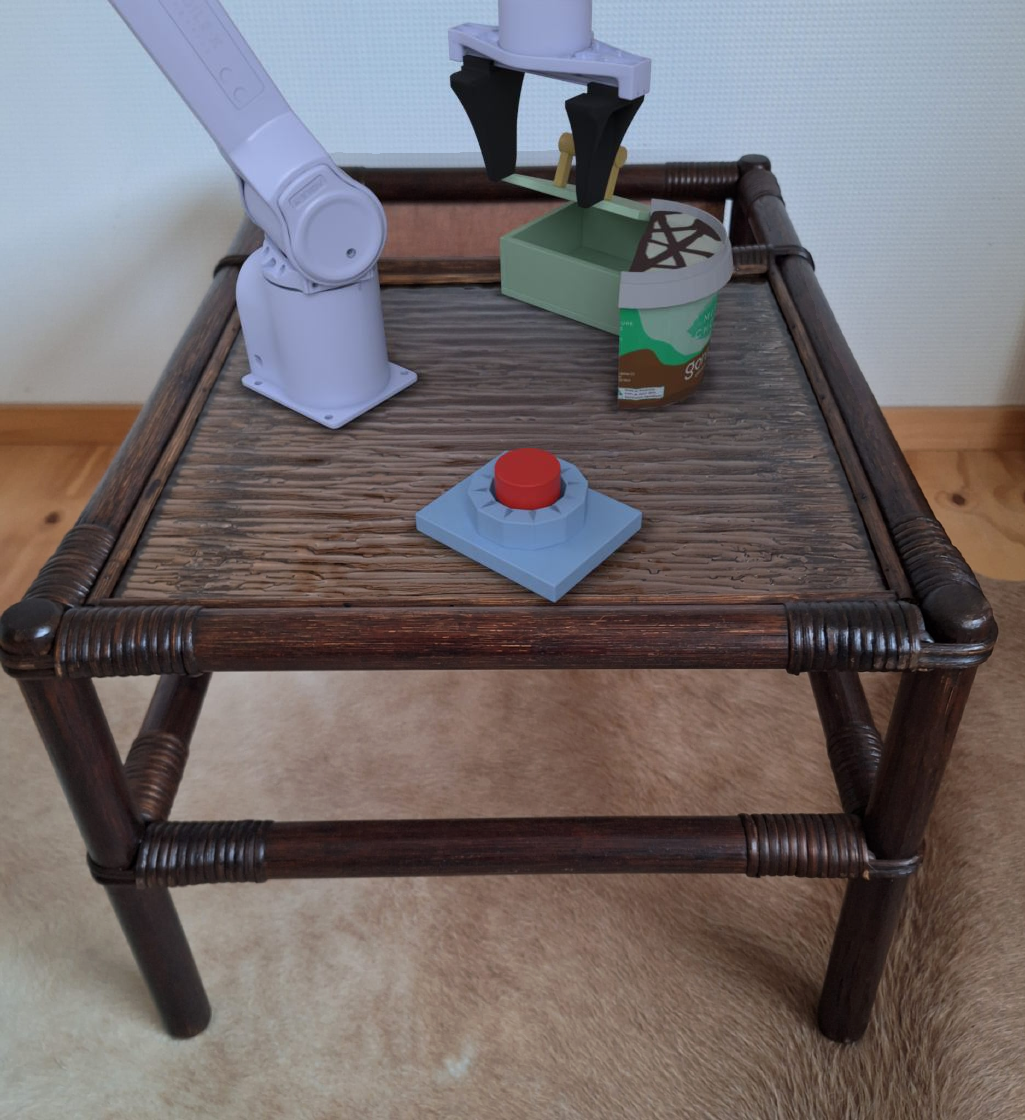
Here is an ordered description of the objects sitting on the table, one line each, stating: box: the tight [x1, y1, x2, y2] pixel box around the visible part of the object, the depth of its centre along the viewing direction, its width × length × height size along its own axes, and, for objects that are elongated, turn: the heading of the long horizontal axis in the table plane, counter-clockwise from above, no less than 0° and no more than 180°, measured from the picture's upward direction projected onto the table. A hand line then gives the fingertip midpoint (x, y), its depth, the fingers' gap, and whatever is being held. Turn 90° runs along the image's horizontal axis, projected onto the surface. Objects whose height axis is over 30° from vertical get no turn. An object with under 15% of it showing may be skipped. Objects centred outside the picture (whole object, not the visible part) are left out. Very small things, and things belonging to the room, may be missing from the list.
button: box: [494, 447, 561, 511], centre depth 59 cm, size 4×4×2 cm
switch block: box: [414, 450, 643, 604], centre depth 60 cm, size 10×8×3 cm
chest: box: [499, 200, 649, 336], centre depth 82 cm, size 10×12×5 cm
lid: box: [501, 131, 651, 222], centre depth 78 cm, size 11×12×4 cm
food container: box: [617, 198, 734, 410], centre depth 70 cm, size 12×6×10 cm, turn 165°
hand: (545, 189), depth 72 cm, fingers open, 7 cm apart
